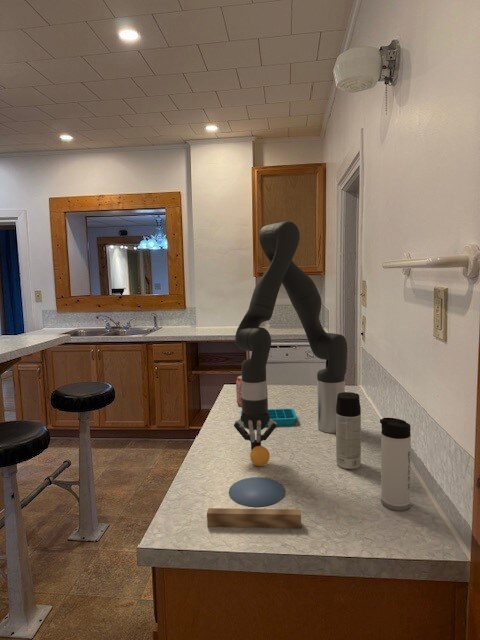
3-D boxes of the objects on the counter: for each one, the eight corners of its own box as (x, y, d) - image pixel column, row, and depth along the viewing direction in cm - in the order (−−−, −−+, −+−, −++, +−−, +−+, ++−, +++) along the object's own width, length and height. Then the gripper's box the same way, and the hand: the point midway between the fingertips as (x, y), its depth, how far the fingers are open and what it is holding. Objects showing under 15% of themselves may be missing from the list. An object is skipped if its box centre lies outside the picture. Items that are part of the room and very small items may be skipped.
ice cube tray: (241, 417, 159) (240, 410, 159) (293, 415, 159) (293, 408, 159) (241, 428, 148) (240, 420, 147) (297, 426, 148) (297, 418, 147)
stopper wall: (300, 522, 89) (300, 509, 89) (301, 528, 87) (300, 514, 87) (208, 521, 91) (208, 508, 91) (207, 526, 89) (206, 513, 89)
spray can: (361, 460, 118) (361, 392, 116) (360, 471, 111) (359, 399, 110) (337, 458, 120) (336, 391, 118) (335, 468, 114) (334, 397, 112)
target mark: (284, 478, 109) (284, 477, 109) (285, 507, 96) (285, 506, 96) (231, 477, 111) (231, 476, 111) (225, 506, 97) (225, 505, 97)
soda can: (252, 407, 170) (251, 378, 169) (235, 407, 171) (234, 378, 170) (254, 402, 177) (254, 374, 176) (238, 402, 178) (237, 374, 177)
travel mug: (375, 497, 98) (375, 415, 96) (402, 495, 99) (402, 414, 97) (386, 512, 92) (387, 425, 90) (415, 510, 92) (416, 423, 90)
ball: (269, 448, 121) (269, 443, 116) (269, 468, 118) (269, 464, 113) (250, 448, 121) (250, 443, 116) (249, 467, 118) (249, 463, 113)
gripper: (277, 391, 122) (279, 448, 124) (233, 391, 124) (235, 447, 125) (277, 399, 115) (278, 459, 117) (230, 399, 116) (232, 458, 118)
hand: (256, 453), depth 121 cm, fingers closed
